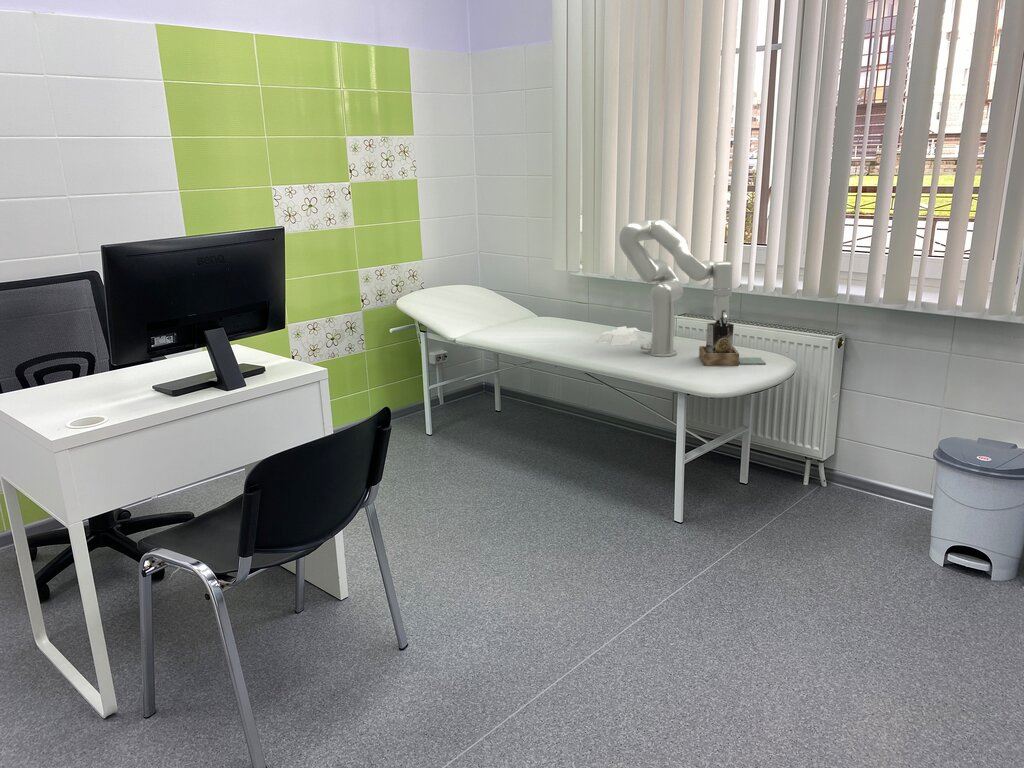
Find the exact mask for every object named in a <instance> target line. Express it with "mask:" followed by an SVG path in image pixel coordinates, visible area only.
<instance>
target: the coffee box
mask: <svg viewBox="0 0 1024 768" xmlns="http://www.w3.org/2000/svg"><path fill="white" fill-rule="evenodd" d="M706 324H707V325H706V338H705V339H706V340H705V341H706V342H705V346H706V353H732V346H733V342H734V323H731V322H727V326H728V333H727V336H719V326H720V323H715V322H710V323H706Z"/></svg>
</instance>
